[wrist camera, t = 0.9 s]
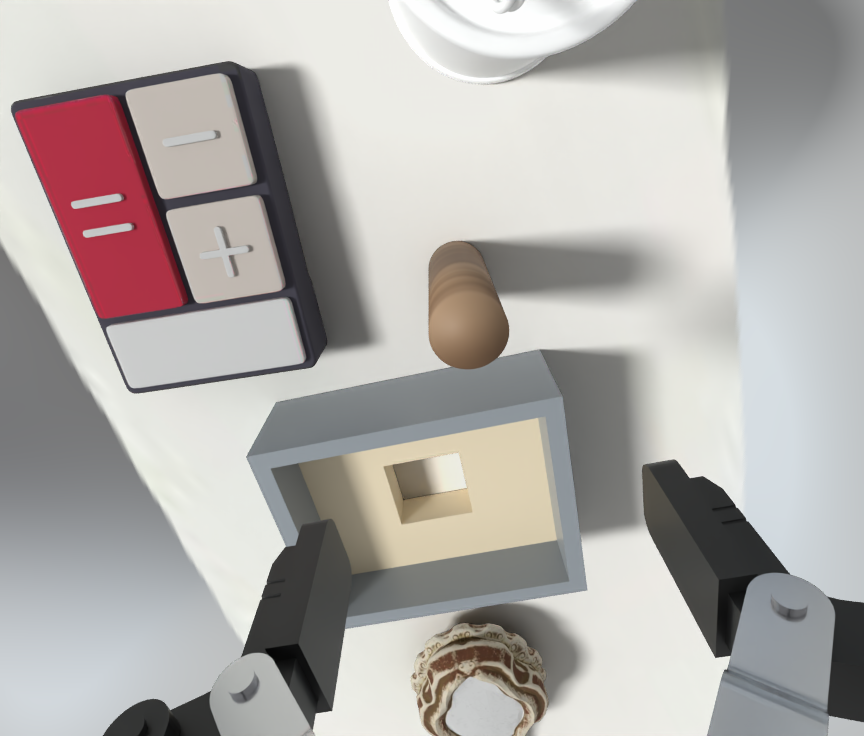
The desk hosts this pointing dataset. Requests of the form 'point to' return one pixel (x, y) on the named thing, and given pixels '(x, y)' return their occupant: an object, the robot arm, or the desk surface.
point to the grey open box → (440, 513)
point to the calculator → (178, 224)
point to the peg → (464, 308)
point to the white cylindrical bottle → (498, 32)
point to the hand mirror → (479, 683)
